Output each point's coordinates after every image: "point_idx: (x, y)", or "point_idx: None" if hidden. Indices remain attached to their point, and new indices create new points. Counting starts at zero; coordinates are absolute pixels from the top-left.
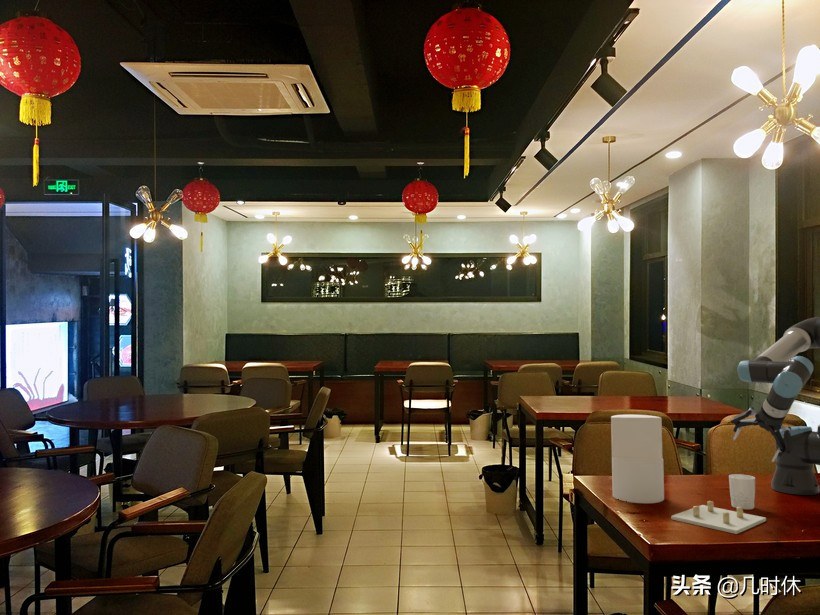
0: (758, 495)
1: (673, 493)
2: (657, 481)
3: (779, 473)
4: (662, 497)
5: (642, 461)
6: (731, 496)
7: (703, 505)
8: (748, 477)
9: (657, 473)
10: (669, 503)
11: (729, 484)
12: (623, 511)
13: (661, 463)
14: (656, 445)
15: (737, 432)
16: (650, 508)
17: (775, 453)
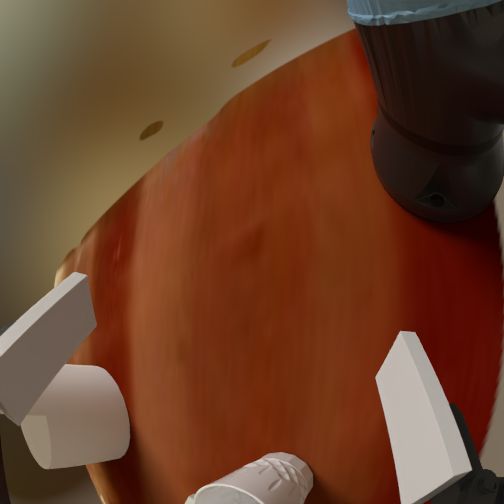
0: (342, 298)
1: (138, 367)
2: (89, 458)
3: (401, 157)
4: (123, 441)
5: (40, 458)
6: (239, 493)
7: (191, 500)
8: (261, 498)
9: (74, 460)
10: (140, 459)
11: (213, 499)
12: (106, 501)
13: (57, 450)
14: None
15: (39, 388)
16: (125, 490)
17: (394, 460)
